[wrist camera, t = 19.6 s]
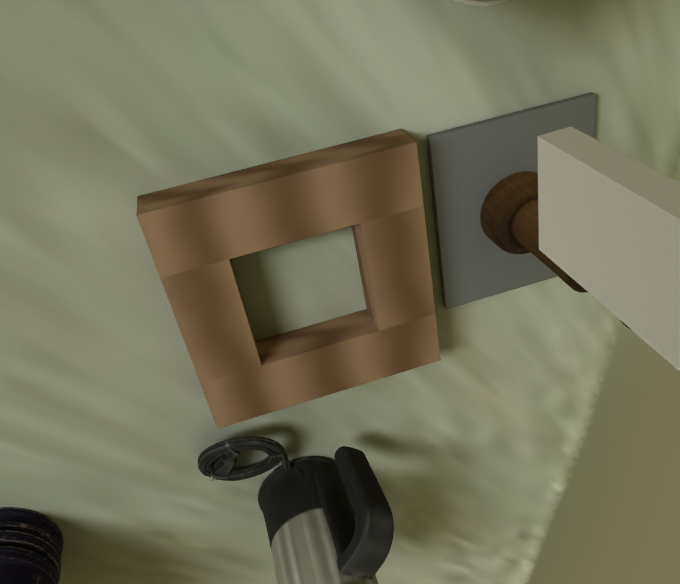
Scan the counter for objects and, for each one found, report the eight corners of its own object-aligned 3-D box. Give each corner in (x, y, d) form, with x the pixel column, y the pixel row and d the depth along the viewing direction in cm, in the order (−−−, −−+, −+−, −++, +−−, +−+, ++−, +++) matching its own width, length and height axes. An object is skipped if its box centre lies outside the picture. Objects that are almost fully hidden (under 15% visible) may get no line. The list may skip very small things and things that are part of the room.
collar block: (214, 402, 56) (217, 428, 53) (137, 196, 45) (136, 215, 43) (426, 338, 59) (440, 360, 56) (400, 128, 48) (416, 142, 45)
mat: (443, 305, 57) (446, 309, 57) (426, 135, 49) (429, 137, 48) (584, 264, 59) (588, 266, 58) (591, 92, 50) (596, 94, 50)
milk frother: (335, 520, 68) (376, 654, 55) (184, 527, 63) (192, 676, 50) (367, 416, 62) (421, 540, 49) (202, 414, 56) (216, 552, 44)
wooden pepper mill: (520, 154, 51) (674, 251, 36) (565, 198, 54) (725, 304, 39) (464, 218, 53) (589, 336, 37) (512, 256, 56) (645, 380, 41)
